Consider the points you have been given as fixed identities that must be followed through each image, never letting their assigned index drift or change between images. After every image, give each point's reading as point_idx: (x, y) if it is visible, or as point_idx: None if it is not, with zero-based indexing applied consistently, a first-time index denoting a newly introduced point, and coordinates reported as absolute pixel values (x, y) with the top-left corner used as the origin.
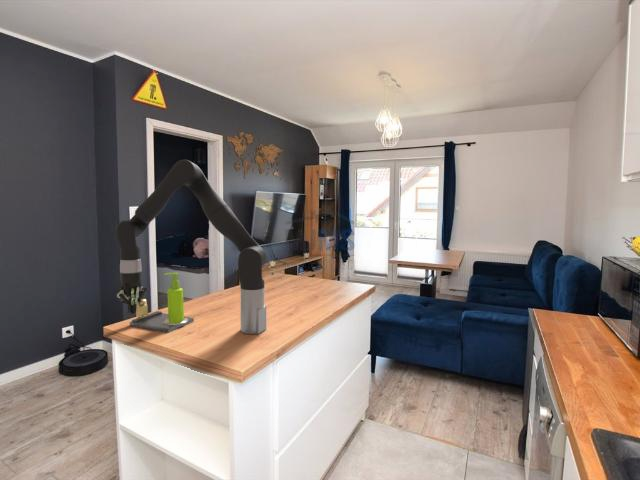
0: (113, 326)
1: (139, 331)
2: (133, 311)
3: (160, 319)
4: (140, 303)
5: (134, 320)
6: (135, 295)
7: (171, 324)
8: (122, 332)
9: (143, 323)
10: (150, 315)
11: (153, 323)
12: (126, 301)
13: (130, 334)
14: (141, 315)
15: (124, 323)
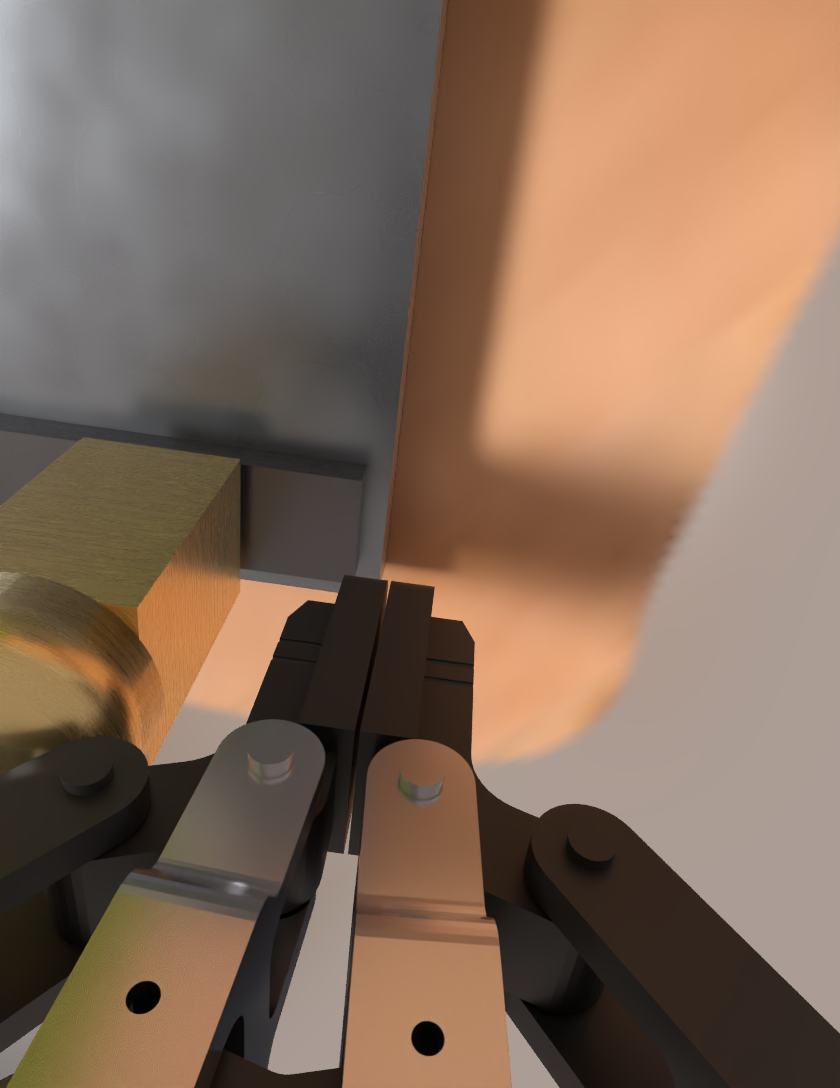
0: (487, 733)
1: (612, 174)
2: (413, 607)
3: (3, 102)
4: (105, 687)
5: (357, 529)
6: (226, 1024)
7: None
8: (709, 447)
9: (370, 292)
10: (2, 440)
11: (288, 55)
12: (691, 939)
13: (799, 227)
14: (224, 489)
15: None
